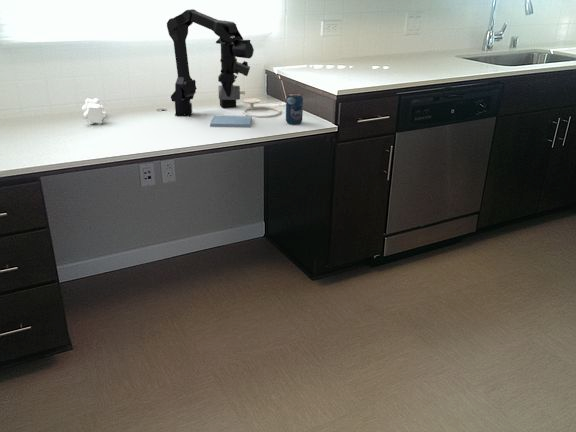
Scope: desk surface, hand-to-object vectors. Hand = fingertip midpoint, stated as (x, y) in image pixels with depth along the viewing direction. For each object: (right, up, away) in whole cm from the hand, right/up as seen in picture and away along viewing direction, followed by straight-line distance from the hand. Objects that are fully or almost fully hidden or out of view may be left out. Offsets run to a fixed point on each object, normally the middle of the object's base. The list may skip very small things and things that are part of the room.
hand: (229, 95), depth 221 cm
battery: (-4, +1, +30) cm, 31 cm away
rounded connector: (0, -1, +1) cm, 1 cm away
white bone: (-56, -9, +6) cm, 57 cm away
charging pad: (0, -10, +6) cm, 12 cm away
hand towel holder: (+11, -3, +23) cm, 26 cm away
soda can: (+26, -10, +7) cm, 29 cm away
